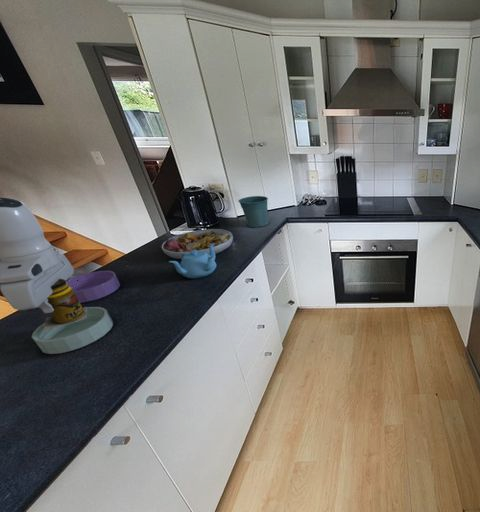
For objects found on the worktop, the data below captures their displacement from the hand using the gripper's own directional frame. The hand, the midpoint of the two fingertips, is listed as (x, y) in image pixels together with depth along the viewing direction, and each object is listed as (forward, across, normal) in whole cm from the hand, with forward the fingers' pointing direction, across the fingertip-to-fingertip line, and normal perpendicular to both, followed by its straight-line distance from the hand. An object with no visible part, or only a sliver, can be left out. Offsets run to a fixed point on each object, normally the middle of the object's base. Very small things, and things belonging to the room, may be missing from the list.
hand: (57, 303), depth 77 cm
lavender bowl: (+12, -28, -6) cm, 31 cm away
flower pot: (+11, -85, +54) cm, 102 cm away
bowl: (+12, -57, +26) cm, 64 cm away
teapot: (+12, -29, +30) cm, 43 cm away
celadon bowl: (+12, 0, +1) cm, 12 cm away
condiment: (+6, 0, 0) cm, 6 cm away
